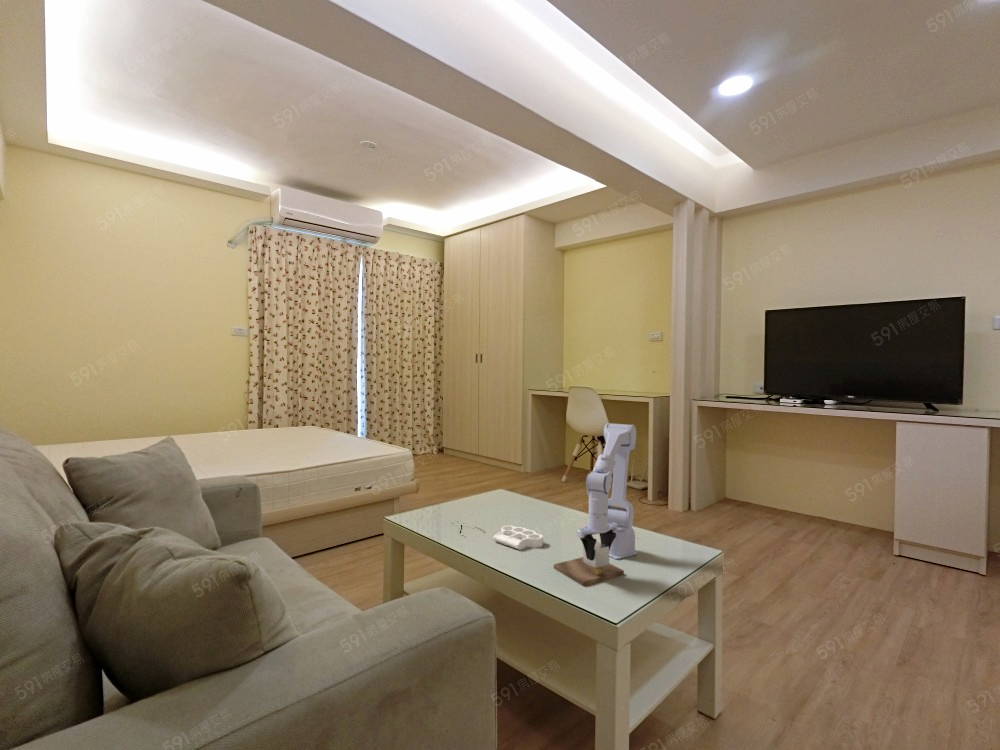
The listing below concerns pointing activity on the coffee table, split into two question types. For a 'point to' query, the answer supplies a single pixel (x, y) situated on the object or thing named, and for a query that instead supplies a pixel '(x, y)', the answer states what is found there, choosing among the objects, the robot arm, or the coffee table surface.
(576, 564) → the walnut board
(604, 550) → the brushed aluminum cube
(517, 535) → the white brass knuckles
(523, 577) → the coffee table surface
